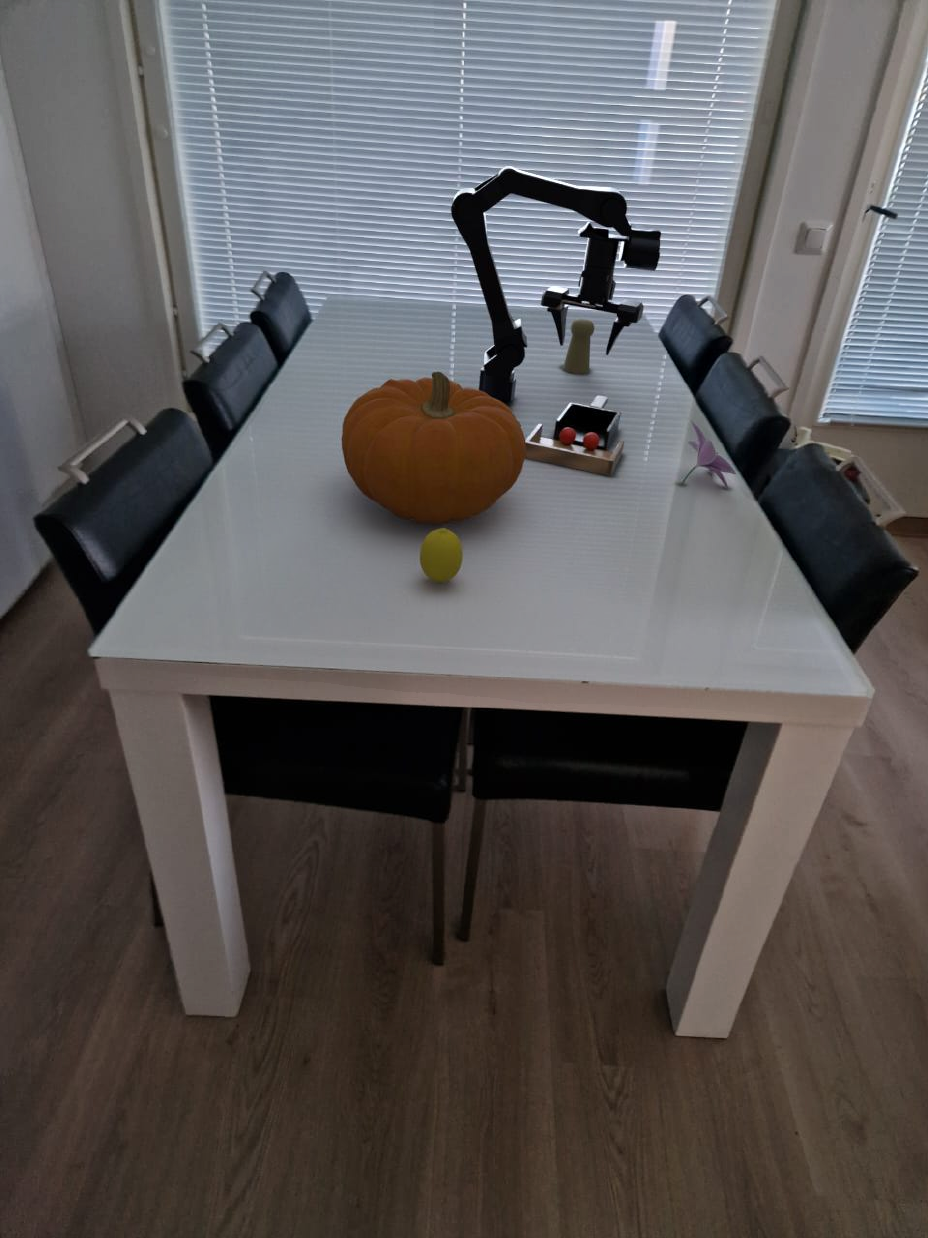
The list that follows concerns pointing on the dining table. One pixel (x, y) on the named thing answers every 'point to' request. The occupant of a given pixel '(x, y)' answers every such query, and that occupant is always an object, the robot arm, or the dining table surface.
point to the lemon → (441, 555)
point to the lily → (709, 457)
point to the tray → (571, 454)
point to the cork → (579, 347)
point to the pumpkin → (432, 449)
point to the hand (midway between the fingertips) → (584, 349)
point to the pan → (589, 421)
